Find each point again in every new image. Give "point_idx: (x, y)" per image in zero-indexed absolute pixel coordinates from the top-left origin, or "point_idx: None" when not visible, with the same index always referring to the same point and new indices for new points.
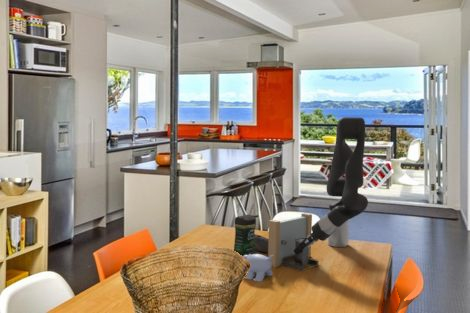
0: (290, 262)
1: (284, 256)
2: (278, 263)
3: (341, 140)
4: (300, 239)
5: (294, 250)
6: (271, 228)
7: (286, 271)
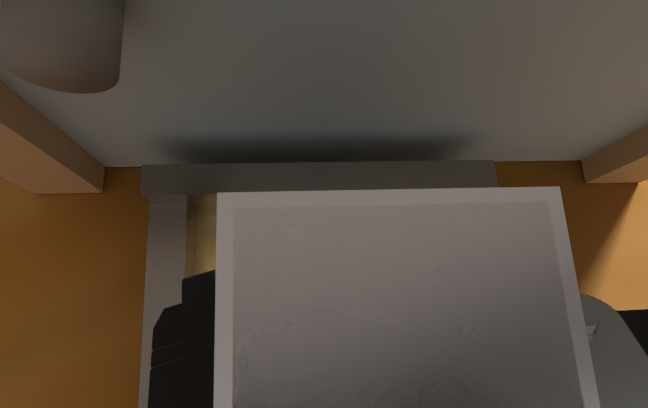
0: (152, 297)
1: (215, 134)
2: (78, 183)
3: None
4: (334, 351)
5: (187, 296)
6: None
7: (5, 379)
